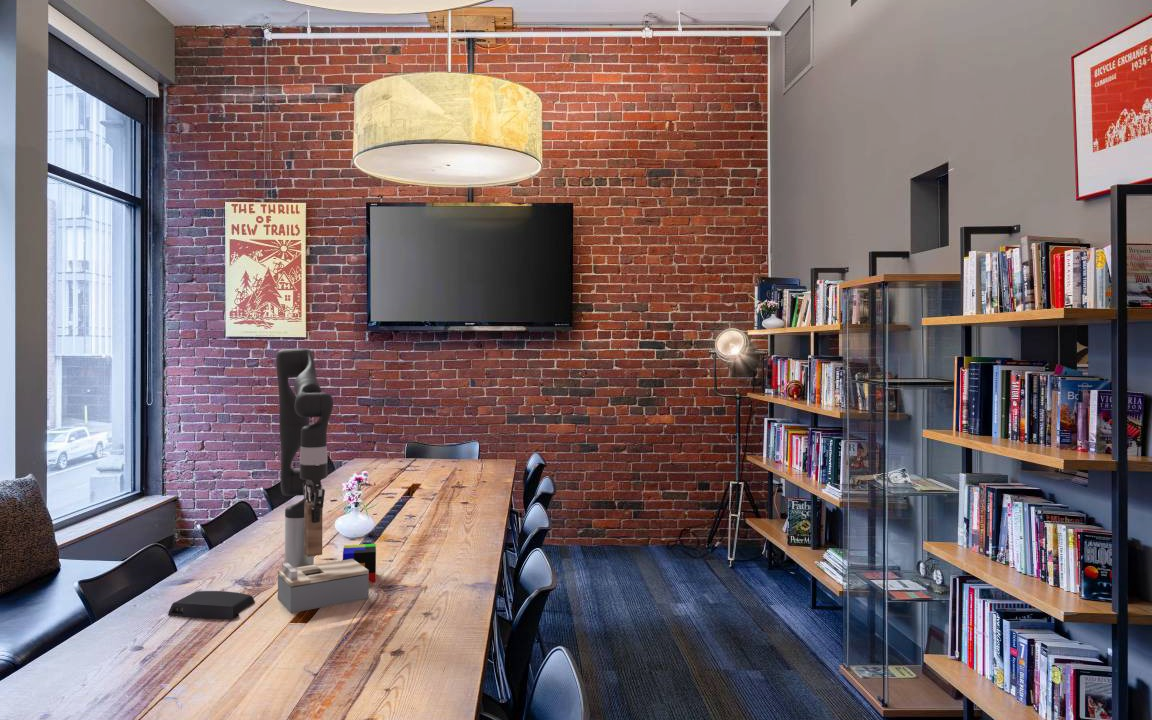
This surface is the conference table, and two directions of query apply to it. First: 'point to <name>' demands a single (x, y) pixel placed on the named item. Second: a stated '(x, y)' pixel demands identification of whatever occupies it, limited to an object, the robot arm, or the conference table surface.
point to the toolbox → (322, 592)
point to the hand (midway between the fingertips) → (313, 520)
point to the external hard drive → (211, 605)
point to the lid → (321, 572)
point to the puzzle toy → (363, 557)
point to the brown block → (312, 532)
